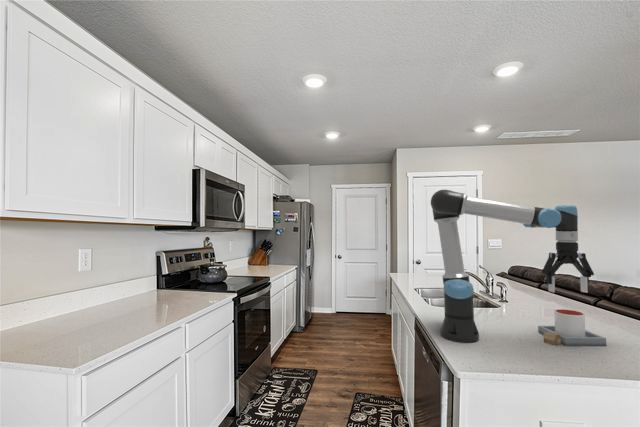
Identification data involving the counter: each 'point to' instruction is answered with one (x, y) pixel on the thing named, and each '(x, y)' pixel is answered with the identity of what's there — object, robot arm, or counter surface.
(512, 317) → the counter surface
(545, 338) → the oak block
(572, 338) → the tray
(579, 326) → the cup
